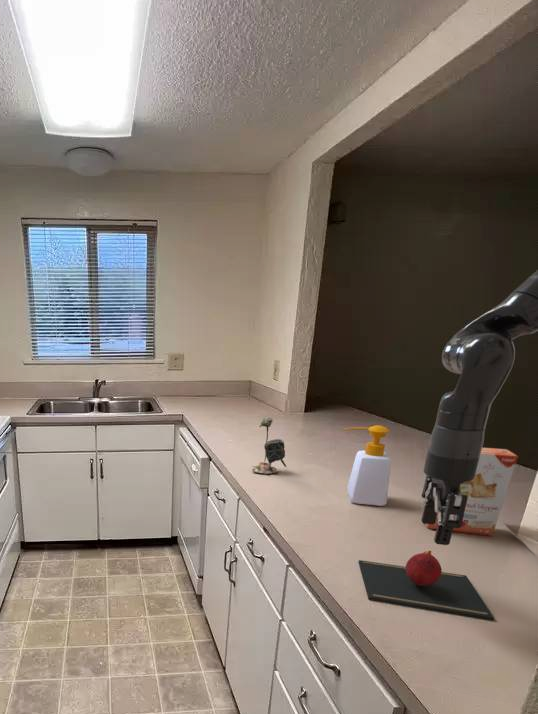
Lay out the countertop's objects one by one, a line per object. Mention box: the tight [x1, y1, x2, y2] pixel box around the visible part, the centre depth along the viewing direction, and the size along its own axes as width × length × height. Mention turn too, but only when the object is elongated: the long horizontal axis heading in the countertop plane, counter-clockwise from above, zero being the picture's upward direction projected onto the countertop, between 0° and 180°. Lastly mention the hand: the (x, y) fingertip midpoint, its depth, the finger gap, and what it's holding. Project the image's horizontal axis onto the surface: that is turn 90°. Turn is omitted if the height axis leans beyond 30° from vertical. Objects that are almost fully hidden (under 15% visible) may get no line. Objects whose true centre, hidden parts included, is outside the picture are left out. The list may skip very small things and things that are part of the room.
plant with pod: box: [252, 415, 287, 475], centre depth 147 cm, size 8×11×20 cm
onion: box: [405, 549, 443, 586], centre depth 84 cm, size 6×6×8 cm
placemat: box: [358, 559, 495, 621], centre depth 86 cm, size 20×14×1 cm
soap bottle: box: [342, 424, 392, 507], centre depth 124 cm, size 10×14×22 cm
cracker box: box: [424, 447, 519, 537], centre depth 106 cm, size 14×6×21 cm, turn 72°
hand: (434, 533), depth 82 cm, fingers open, 8 cm apart
